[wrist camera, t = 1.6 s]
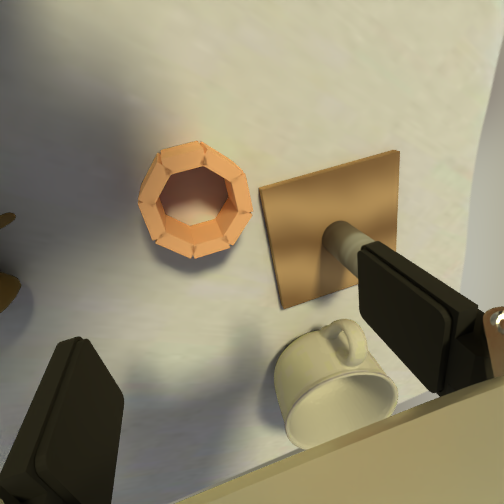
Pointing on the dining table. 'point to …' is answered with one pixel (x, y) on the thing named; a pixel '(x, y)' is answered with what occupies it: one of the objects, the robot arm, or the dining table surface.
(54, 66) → the dining table surface
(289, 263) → the post plate
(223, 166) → the ring
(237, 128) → the dining table surface
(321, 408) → the teacup
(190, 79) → the dining table surface
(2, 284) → the kendama
